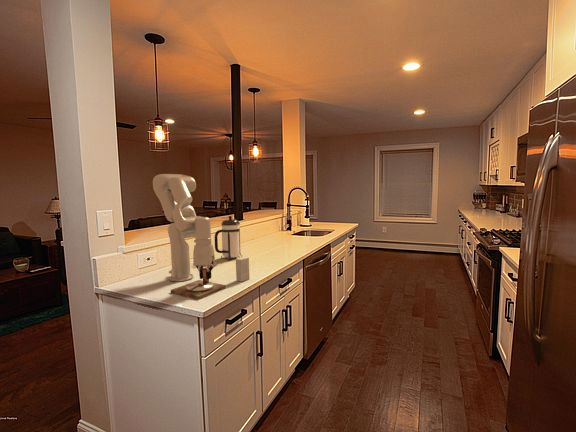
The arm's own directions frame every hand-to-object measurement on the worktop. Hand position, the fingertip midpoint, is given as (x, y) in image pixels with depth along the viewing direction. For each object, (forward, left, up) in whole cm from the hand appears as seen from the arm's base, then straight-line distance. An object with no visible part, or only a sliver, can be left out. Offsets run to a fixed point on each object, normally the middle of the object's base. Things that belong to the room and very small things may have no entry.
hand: (205, 278), depth 157 cm
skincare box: (+8, +19, -5) cm, 22 cm away
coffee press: (-32, +55, -5) cm, 64 cm away
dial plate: (0, -5, -5) cm, 7 cm away
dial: (+1, -6, -3) cm, 7 cm away
